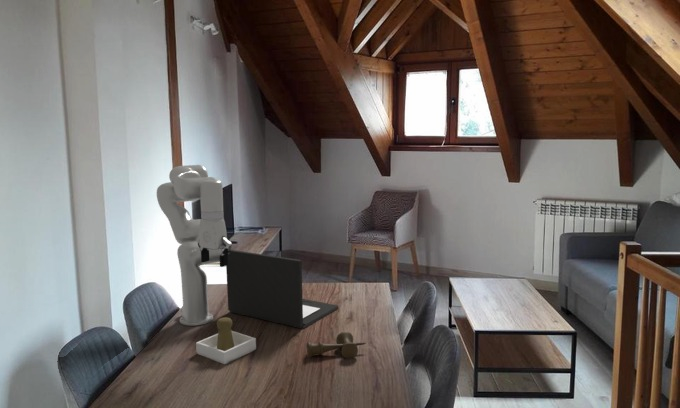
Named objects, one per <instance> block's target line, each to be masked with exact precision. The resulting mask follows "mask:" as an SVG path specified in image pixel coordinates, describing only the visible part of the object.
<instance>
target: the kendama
mask: <svg viewBox="0 0 680 408" xmlns="http://www.w3.org/2000/svg"><path fill="white" fill-rule="evenodd" d="M335 341H336V343H323V342H321V341H318V342H317V343H314V342H313V343H311V342H310V341H307V342H306V354H307V357H308V358H309V359H310V358H312V357H313V356H315V355H320V356H322V355H323V354H325V353H328V352H331V351H334V350H338V349H341V351H340V352H341V356H342V357H343V358H344V359H354V358H355V357H357V355H358V352H359V348H358V346H363V345H366V342H363V341H361V342H354V336H353V334H352V333H351V332H349V331H342V332H340V333H338V335H337V336H336V340H335Z"/></svg>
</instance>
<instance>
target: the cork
mask: <svg viewBox="0 0 680 408" xmlns="http://www.w3.org/2000/svg"><path fill="white" fill-rule="evenodd" d="M216 327H217V329H218V331H217V334H218V341H217V349H220V350H222V351H226V350H229V349H231V348H233V347H234V342H233V336H232V331H233V330H232V328H233V320H232V319H231V318H230V317H226V316H225V317H220V318H219V319H217V321H216Z"/></svg>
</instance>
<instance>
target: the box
mask: <svg viewBox="0 0 680 408" xmlns="http://www.w3.org/2000/svg"><path fill="white" fill-rule="evenodd" d="M231 331H232V336H233V342H234V347H233V348H231V349H229V350H226V351H222V350H220V349H217V341H218V333H215V334H213V335H211V336H208V337H206V338H203V339H202V340H199V341H197V342H196V343H195V346H196V347H195V348H196V354H197V355H200V356H201V357H204V358H207V359H209V360H212V361H215V362H217V363H220V364H223V365H227V364H229V363H231V362H234V361H235V360H237V359H239V358H241V357H243V356H245V355H248V354H250V353H252V352H254V351H256V350H257V338H256V337H253V336H250V335H247V334H244V333H240V332H238V331H233V330H231Z"/></svg>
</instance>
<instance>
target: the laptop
mask: <svg viewBox="0 0 680 408" xmlns="http://www.w3.org/2000/svg"><path fill="white" fill-rule="evenodd" d="M225 267H226V268H225V269H226V270H225V271H226V272H225V273H226V288H227V289H226V290H227V310H228V311H229V312H230V313H233V314H237V315H242V316H246V317H250V318H255V319H260V320H263V321H268V322H271V323H277V324H280V325H286V326H289V327H294V328H298V329H302V330H304V329H306V328H307V327H309V326H311V325H313V324H314V323H316V322H318V321H319V320H321V319H323V318H325V317H326V316H328V315H329V314H331V313H333V312H335V311H337V310H339V304H337V305H336V304H333V303H326V302H323V301H322V302H321V301H316V300H311V299H306V298H303V269H302V268H303V265H302V260H301V259H297V258H296V259H295V258H289V257H283V256H276V255H268V254H263V253H256V252H250V251H242V250H235V249H231V250H230V252H229V254H228V265H227V266H225Z"/></svg>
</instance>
